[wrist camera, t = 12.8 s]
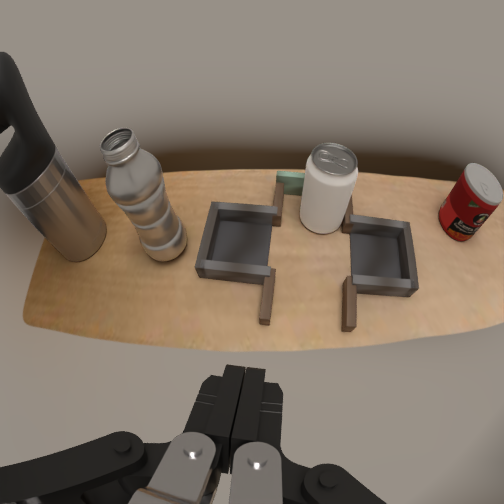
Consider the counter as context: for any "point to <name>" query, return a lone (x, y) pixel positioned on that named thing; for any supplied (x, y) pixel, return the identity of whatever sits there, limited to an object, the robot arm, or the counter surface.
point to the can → (327, 187)
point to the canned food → (470, 202)
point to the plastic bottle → (142, 194)
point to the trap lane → (264, 217)
